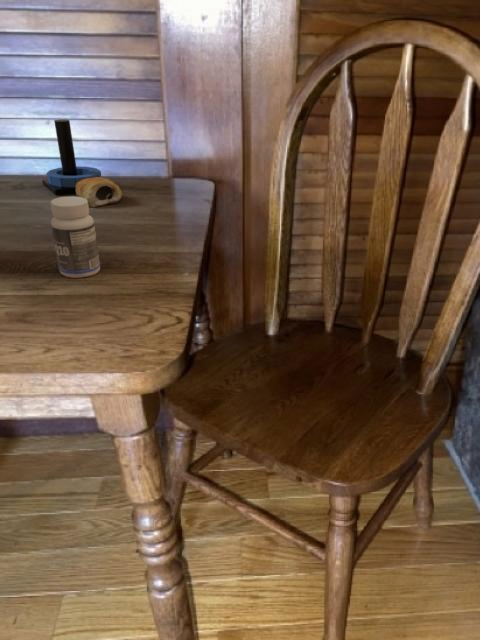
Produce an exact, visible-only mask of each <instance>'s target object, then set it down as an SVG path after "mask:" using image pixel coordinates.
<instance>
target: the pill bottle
mask: <svg viewBox="0 0 480 640" xmlns="http://www.w3.org/2000/svg"><path fill="white" fill-rule="evenodd" d="M50 212H51V215H52V216H53V217H52V218H51V220H50V229H51V232H52V238H53V245H54V251H55V256H56V261H57V267H58V271H59V273H60V274H61V275H62V276H64V277H66V278H71V279H72V278H73V279H79V278H86V277H91V276H94V275H96V274H97V273H99V271H100V270H101V263H100V256H99V255H100V254H99V249H98V248H99V247H98V242H97V241H98V240H97V235H96V233H97V232H96V227H95V220H94V218H93V217H92V216H91V215H90V206H88V201H87V199H85V198H82V197H78V196H69V195H68V196H60V197H59V196H58V197H56V198H53V199H51V200H50Z"/></svg>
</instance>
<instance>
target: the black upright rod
mask: <svg viewBox="0 0 480 640" xmlns="http://www.w3.org/2000/svg"><path fill="white" fill-rule="evenodd" d="M54 127H55V133H56V141H57V145H58V151H59V159H60V164H61V165H60V166H61V167H62V171H63V175H64V176H77V175H78V174H77V167H76V166H77V161H76V155H75V148H74V141H73V134H72V128H71V122H70V119H67V118H65V119H63V118H59V119H54ZM41 181H42V182H41V183H42V185H43V186H44V187H45V188H46V189H47V190H48V191H50V192H51V193H53V195H54V196H63V195H65V196H66V195H72V194H76V187H58V186H52V185H51V184H49V183H48V179H47V178H42V179H41Z"/></svg>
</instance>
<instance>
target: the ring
mask: <svg viewBox="0 0 480 640" xmlns="http://www.w3.org/2000/svg"><path fill="white" fill-rule="evenodd" d="M76 167H77V174H78V175H77V176H64V175H63V171H62V166H61V167H56V168H52V169H50V170H48V171H47V172H46V179H48V183H49V184H51V185H52V186H58V187H76V183H77V182H79V181H81V180H83V179H86V178H95V177H102V170H100V169H99V168H97V167H91V166H79V165H78V166H77V165H76Z"/></svg>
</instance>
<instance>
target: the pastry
mask: <svg viewBox="0 0 480 640" xmlns="http://www.w3.org/2000/svg"><path fill="white" fill-rule="evenodd" d="M75 194H76V197H82V198H85V199H87V201H88V206H89V207H90V208H91V207H92V208H96V207H103V206H106V205H108V204H115V203H118V202H120V200H121V199H122V197H123V191H122V190H121V188H120V186H119V185H118V184H116V183H115V182H114V181H112V180H111V179H110V178H106V177H102V176H101V177H95V178H86V179H83V180H81V181H79V182H77V183H76V193H75Z"/></svg>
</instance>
